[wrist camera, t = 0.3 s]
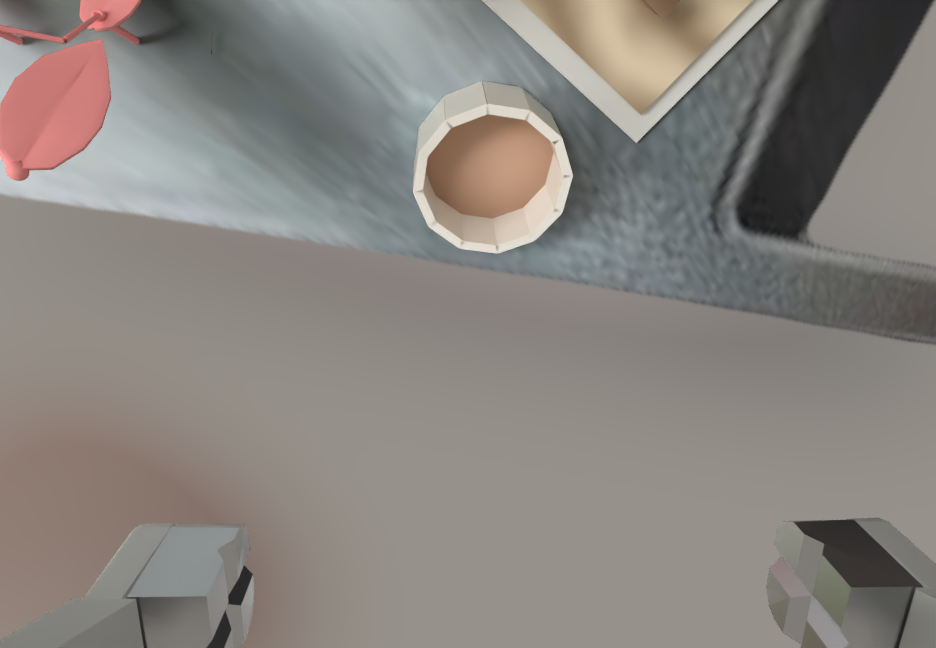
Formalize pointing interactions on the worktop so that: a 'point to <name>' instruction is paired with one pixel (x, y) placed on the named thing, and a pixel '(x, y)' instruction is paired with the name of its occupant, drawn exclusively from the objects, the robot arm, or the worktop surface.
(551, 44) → the mat
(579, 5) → the lid
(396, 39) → the worktop surface
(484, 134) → the bowl
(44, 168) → the figurine
